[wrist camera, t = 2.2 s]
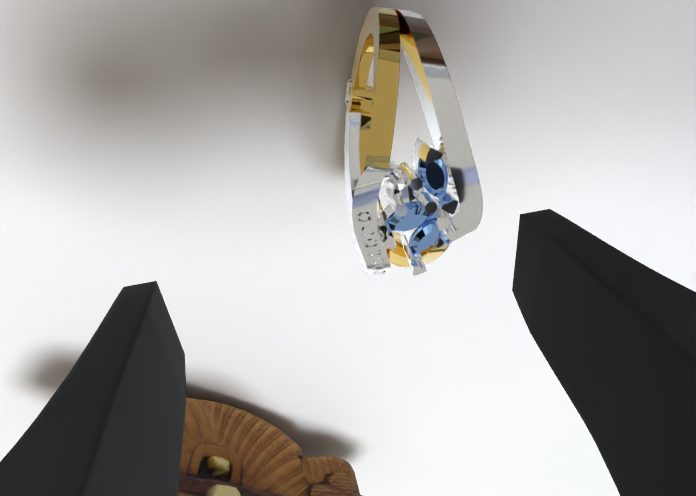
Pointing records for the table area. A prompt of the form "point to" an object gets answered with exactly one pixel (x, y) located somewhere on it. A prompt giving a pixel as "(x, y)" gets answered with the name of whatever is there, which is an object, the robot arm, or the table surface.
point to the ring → (429, 162)
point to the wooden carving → (251, 458)
